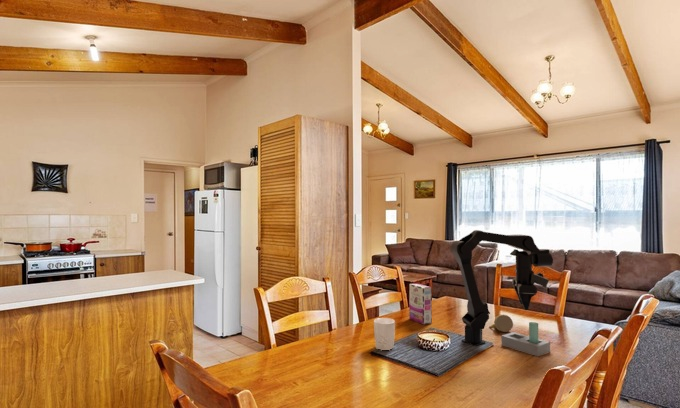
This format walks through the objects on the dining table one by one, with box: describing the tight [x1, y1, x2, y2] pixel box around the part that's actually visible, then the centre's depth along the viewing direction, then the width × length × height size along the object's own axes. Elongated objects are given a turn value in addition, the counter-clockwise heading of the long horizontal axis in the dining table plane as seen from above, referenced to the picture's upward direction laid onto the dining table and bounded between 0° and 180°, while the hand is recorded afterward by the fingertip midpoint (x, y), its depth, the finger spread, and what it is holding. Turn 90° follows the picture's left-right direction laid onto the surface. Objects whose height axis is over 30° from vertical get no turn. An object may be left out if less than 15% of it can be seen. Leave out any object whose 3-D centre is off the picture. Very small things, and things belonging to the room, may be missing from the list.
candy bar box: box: [408, 283, 433, 325], centre depth 178 cm, size 11×5×16 cm, turn 25°
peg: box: [528, 321, 540, 344], centre depth 139 cm, size 3×3×10 cm
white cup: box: [373, 317, 396, 351], centre depth 144 cm, size 8×8×10 cm
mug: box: [488, 314, 514, 333], centre depth 164 cm, size 8×10×10 cm
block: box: [501, 331, 551, 357], centre depth 142 cm, size 8×14×4 cm, turn 34°
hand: (524, 307), depth 151 cm, fingers open, 9 cm apart
